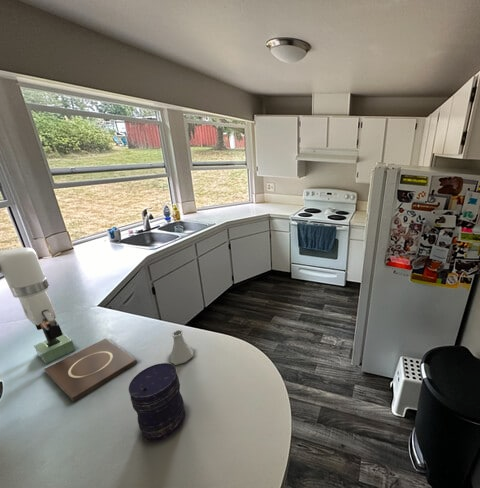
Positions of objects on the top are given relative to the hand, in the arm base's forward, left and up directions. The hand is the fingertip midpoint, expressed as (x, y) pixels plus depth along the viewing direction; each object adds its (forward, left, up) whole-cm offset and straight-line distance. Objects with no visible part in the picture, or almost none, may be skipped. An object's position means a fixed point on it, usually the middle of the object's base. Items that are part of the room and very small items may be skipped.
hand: (50, 332), depth 83 cm
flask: (+20, -38, -9) cm, 43 cm away
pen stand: (0, 0, -8) cm, 8 cm away
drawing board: (+3, -18, -8) cm, 20 cm away
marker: (0, 0, -8) cm, 8 cm away
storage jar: (+4, -55, -9) cm, 56 cm away
